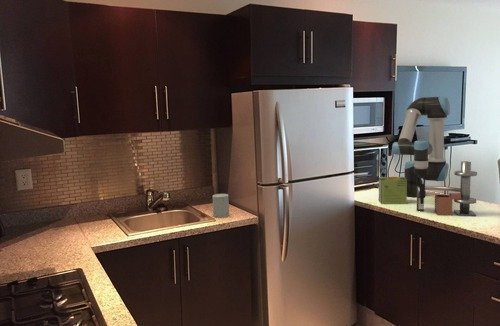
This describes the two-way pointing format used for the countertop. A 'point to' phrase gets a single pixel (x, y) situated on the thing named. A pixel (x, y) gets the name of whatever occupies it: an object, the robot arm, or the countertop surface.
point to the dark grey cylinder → (418, 200)
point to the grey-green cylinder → (220, 205)
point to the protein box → (393, 190)
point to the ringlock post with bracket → (458, 195)
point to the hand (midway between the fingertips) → (420, 207)
